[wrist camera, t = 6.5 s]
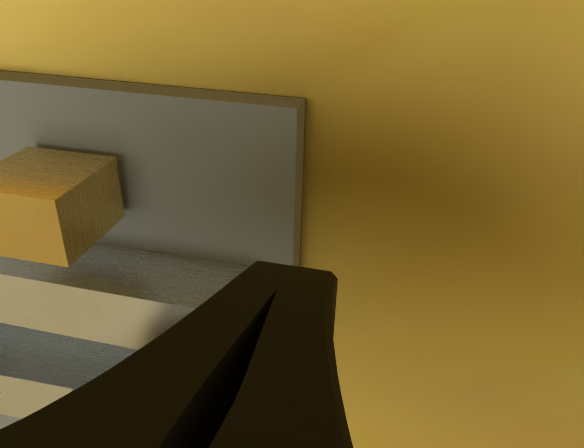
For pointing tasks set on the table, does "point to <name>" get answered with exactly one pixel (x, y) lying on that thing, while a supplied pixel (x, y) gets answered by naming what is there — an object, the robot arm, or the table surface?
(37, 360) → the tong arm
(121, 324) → the base
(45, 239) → the tab
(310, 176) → the table surface
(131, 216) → the mat
